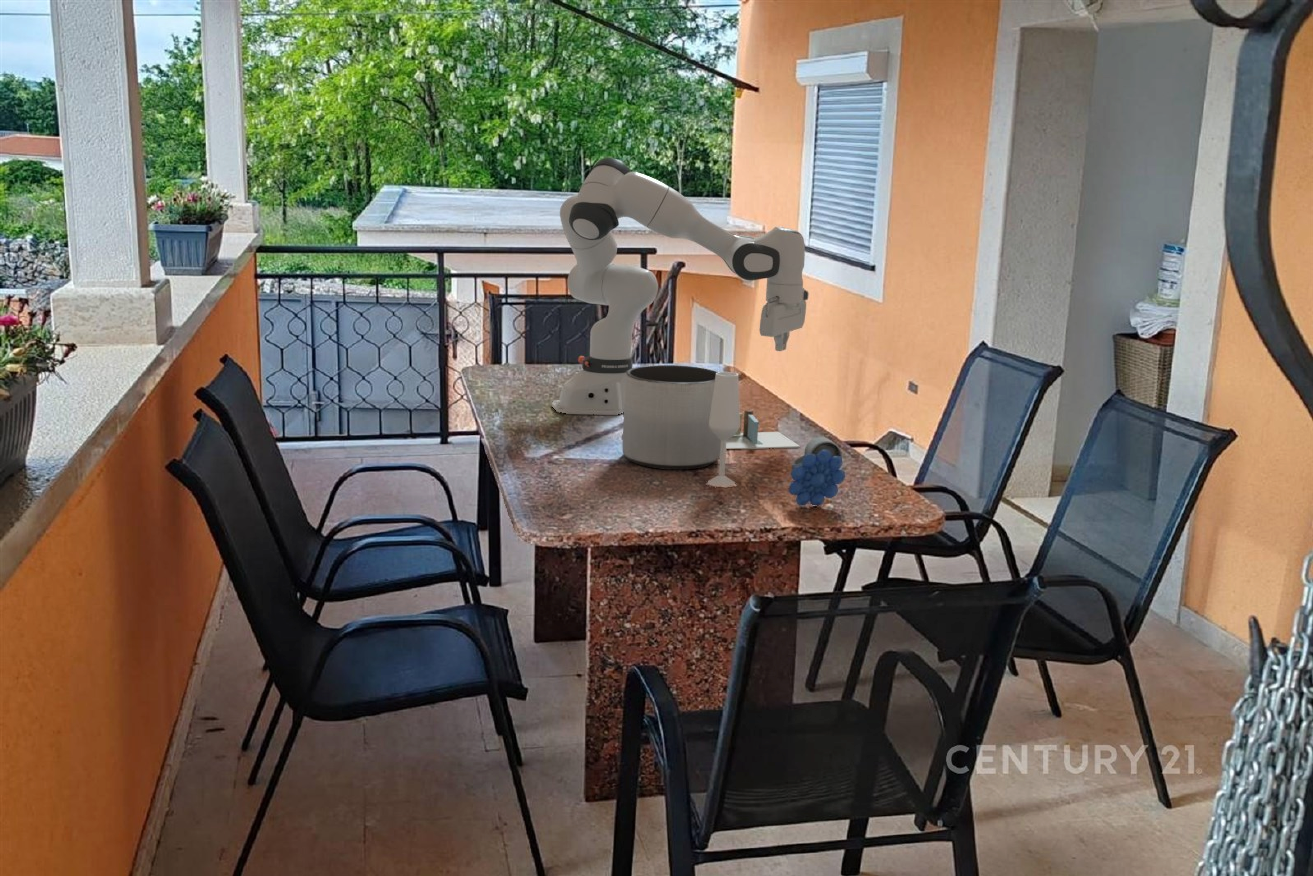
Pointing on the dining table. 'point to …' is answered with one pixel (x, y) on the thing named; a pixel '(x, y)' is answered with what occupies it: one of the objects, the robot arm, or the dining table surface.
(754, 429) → the light blue rectangular panel
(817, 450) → the ceramic mug
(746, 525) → the dining table surface
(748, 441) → the card
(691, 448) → the planter
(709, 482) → the champagne flute
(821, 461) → the grapes
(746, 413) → the pine fence section
